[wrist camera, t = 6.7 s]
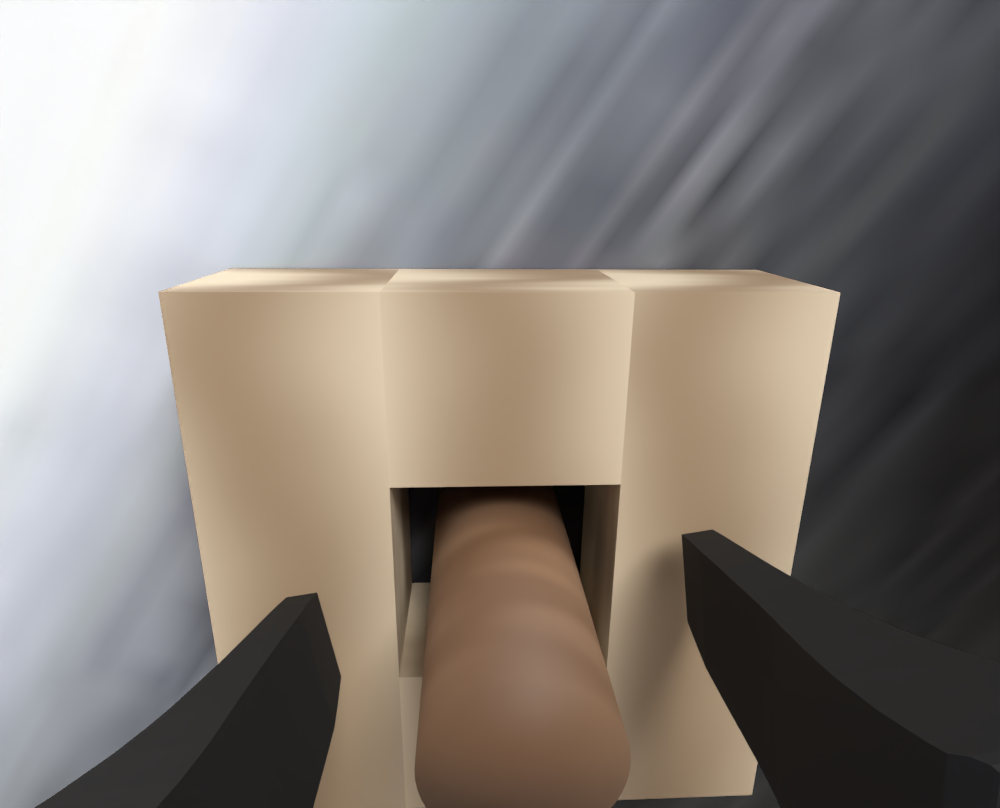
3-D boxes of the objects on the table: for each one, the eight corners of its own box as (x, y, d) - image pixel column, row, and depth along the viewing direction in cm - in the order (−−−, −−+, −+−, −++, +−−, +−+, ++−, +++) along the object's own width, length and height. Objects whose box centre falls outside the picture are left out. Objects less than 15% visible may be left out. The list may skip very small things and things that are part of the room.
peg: (544, 436, 16) (615, 662, 8) (562, 540, 17) (642, 826, 9) (425, 460, 16) (391, 706, 8) (451, 561, 17) (441, 864, 9)
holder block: (756, 270, 15) (840, 292, 12) (701, 687, 19) (751, 794, 15) (230, 268, 14) (158, 291, 11) (283, 699, 18) (242, 814, 15)
